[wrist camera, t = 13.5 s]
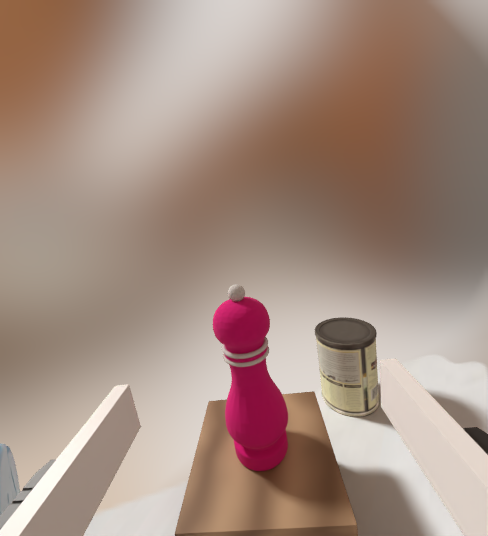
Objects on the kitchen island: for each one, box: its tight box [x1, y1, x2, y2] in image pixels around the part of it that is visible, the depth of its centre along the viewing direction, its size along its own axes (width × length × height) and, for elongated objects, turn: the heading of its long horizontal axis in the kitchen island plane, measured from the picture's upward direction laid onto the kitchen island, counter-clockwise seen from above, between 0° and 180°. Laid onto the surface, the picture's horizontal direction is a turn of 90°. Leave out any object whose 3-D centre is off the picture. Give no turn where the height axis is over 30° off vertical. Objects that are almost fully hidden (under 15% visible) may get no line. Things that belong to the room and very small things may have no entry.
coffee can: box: [315, 318, 379, 416], centre depth 46 cm, size 10×10×14 cm
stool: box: [175, 392, 358, 536], centre depth 30 cm, size 16×16×10 cm
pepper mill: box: [213, 285, 288, 471], centre depth 27 cm, size 7×7×20 cm
